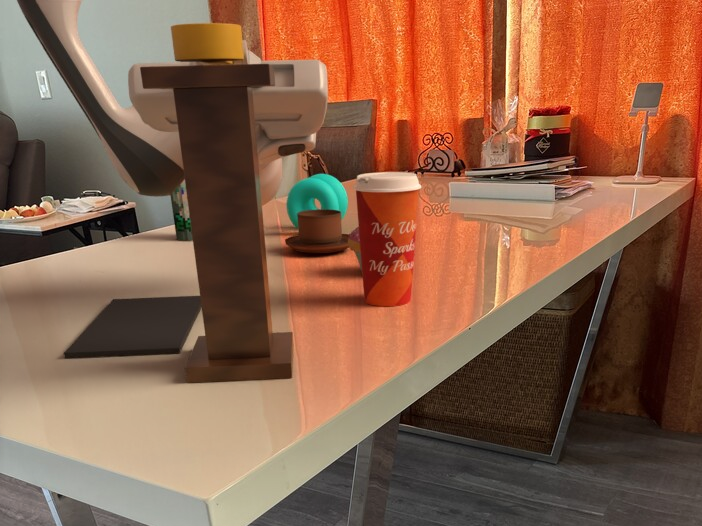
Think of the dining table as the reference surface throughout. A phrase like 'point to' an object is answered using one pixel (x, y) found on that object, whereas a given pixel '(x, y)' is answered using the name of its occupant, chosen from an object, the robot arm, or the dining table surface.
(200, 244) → the stand
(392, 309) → the dining table surface
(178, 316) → the mat
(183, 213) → the can
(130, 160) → the robot arm
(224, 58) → the scoop
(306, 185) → the donuts
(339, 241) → the cup and saucer
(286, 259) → the dining table surface
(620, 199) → the dining table surface
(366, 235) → the coffee cup
